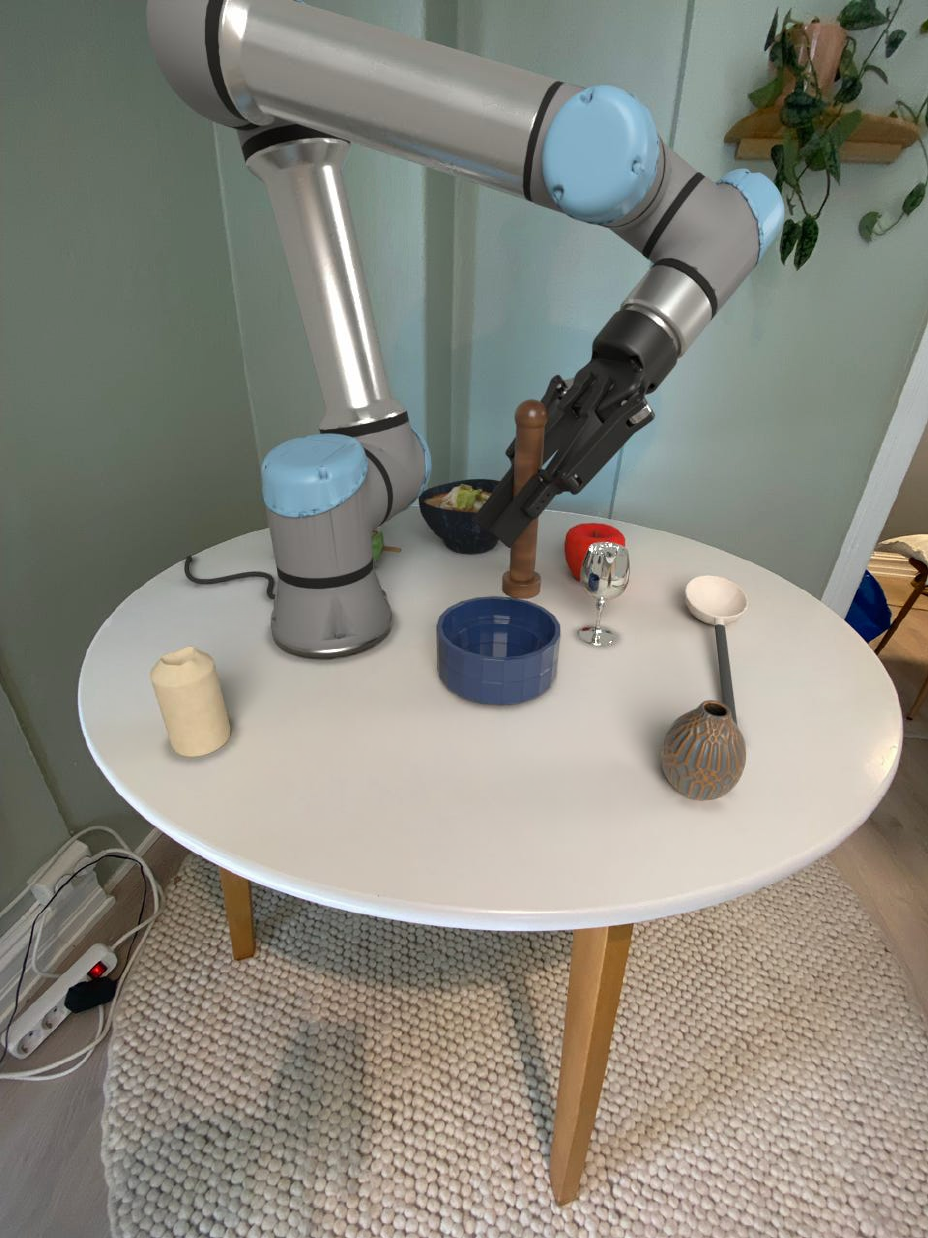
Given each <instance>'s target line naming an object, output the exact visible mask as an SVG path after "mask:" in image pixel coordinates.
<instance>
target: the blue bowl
mask: <svg viewBox="0 0 928 1238" xmlns="http://www.w3.org/2000/svg"><path fill="white" fill-rule="evenodd" d="M435 627H436V628H435V630H436V632H435V633H436V669H437V674H438V677H439V679H440V681H441V682H442V683H443V684H444V685H445V687H446V688H447V689H448V690H450V691H451V692H453V693H454V694H456V695H458V696H459V697H461V698H463V699H466V700H470V701H473V702H476V703H479V704H484V705H485V704H486V705H496V706H497V705H498V706H503V705H512V704H513V705H514V704H520V703H524V702H527V701H530V700H533V699H537V698H538V697H540V696H541V695H543V694H544V693H545V692H546V691H548V690H549V689H550V688H551V687H552V685H553V684H554V681H555V680H556V679H557V672H558V661H559V652H560V643H561V635H562V634H561V624H560V622H559V621H558V619H557V617H556V616H555V615H554V614H553V613H552V612H551V611H549V610H548V609H546V608H545V607H543V606H541V605H539V604H536V603H534V602H532V601H529V600H526V599H518V598H513V597H510V596H499V595H498V596H497V595H490V596H489V595H488V596H481V597H480V596H477V597H472V598H468V599H465V600H461V601H459V602H457V603H454V604H453V605H451V606H449V607H448V608H446V609H445V610H444V611H443V612H442V613H441V614H440V615H439V616H438V619H437V623H436V626H435Z"/></svg>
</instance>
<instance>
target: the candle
mask: <svg viewBox="0 0 928 1238" xmlns="http://www.w3.org/2000/svg"><path fill="white" fill-rule="evenodd" d="M215 663H216V662H215V659H214V657H212V656H211V655H210V654H209V653H206V652H205V651H202V650H200V649H198V648H196V647H195V646H186V647H183V648H182V649H180V650H176V651H173V652H169V653H167V654H164V655H163V656H162V657H160V658H159V660H157V661H156V663H155V664H154V665H153V666H152V668H151V669H150V671H149V678H150V682H151V685H152V688H153V691H154V692H153V693H154V694H155V698H156V700H157V704H158V708H159V711H160V714H161V718H162V719H163V720H162V721H163V723H164V726H165V729H166V733H167V735H168V739H169V742H170V745H171V747H172V749H173V750H174V752H175V753H176V754H178V755H180V756H183V757H188V758H189V757H190V758H193V757H194V758H196V757H202V756H205V755H209V754H211V753H213V752H215V751H217V750H219V749H220V748H222V747H223V746H224V745H225V744H226V743H227V742H228V740H229V739H230V736H231V724H230V721H229V716H228V712H227V707H226V703H225V700H224V696H223V691H222V688H221V684H220V679H219V675H218V671H217V667H216V664H215Z"/></svg>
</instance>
